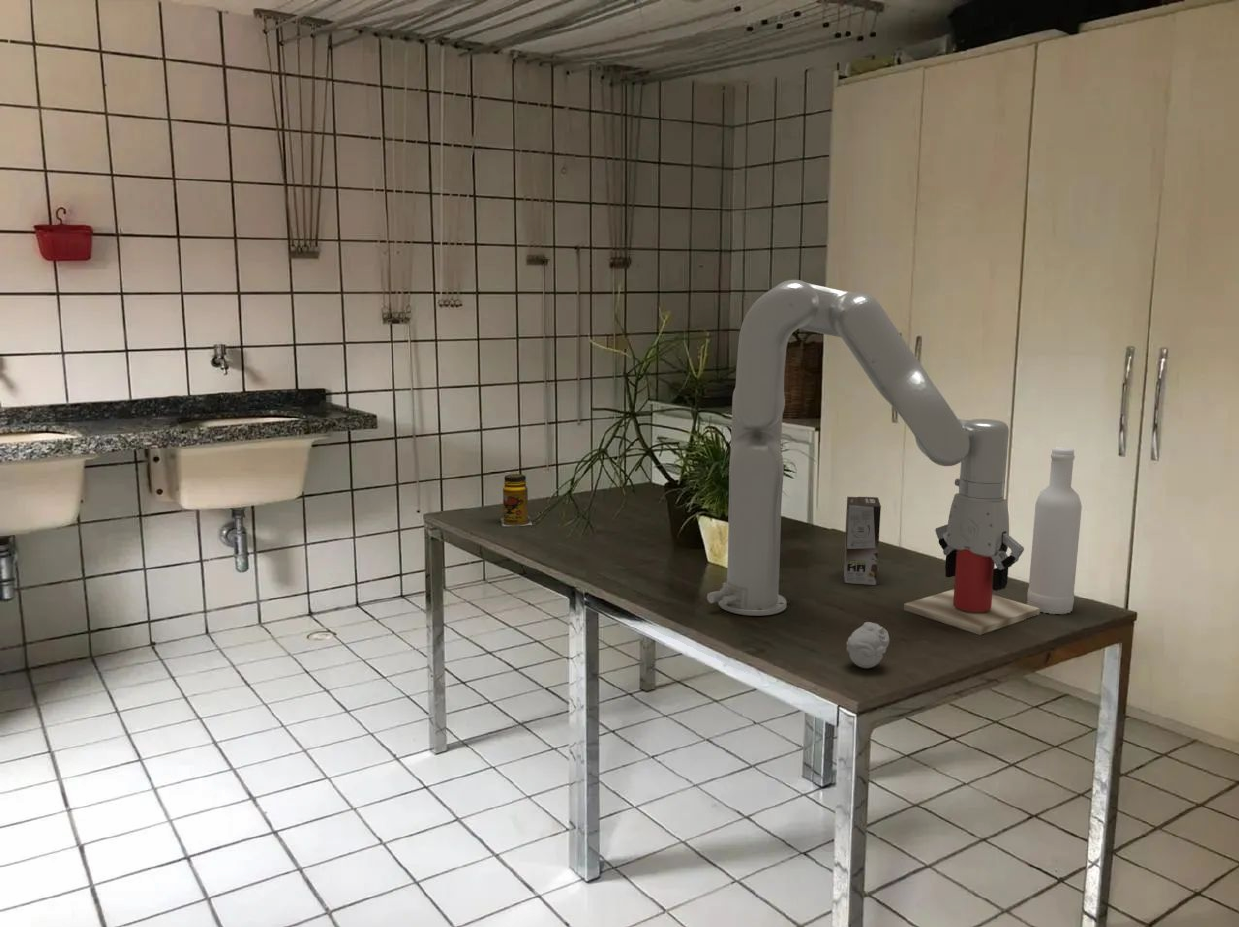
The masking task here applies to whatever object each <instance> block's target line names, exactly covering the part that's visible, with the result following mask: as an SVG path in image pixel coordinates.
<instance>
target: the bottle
mask: <svg viewBox="0 0 1239 927" xmlns="http://www.w3.org/2000/svg"><path fill="white" fill-rule="evenodd" d="M1051 452H1052V453H1050V458H1051V461H1050V462H1051V463H1050V474H1049V485H1047V486H1046V487H1045V488H1043V490H1042V491H1040V492H1039V495H1038V497H1037V499H1036V502H1035V504H1034V505H1035V506H1034V517H1033V530H1032V544H1031V554H1030V555H1031V556H1030V567H1029V579H1028V580H1029V581H1028V589H1027V594H1026V595H1027V598H1026V599H1027V603H1026V604H1027V605H1030V606H1034V607H1037V608H1040V613H1041V612H1043V613H1042V614H1046V613H1049V614H1048V615H1055V614H1060V615H1067V613H1068V614H1070V613H1071V611H1072V612H1073V607H1074V603H1075V602H1074V601H1075V584H1076V574H1077V573H1076V572H1077V563H1078V554H1079V553H1078V551H1079V540H1080V530H1081V521H1082V509H1083V507H1082V503H1081V502H1082V501H1081V498H1080V496H1079V494H1078V493H1077V491H1075V490H1074V488H1073V487H1072V478H1073V470H1074V468H1073V467H1074V460H1075V457H1076V456H1075V449H1074V448H1073V447H1067V446H1055V447H1053V448H1052V451H1051Z"/></svg>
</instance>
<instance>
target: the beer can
mask: <svg viewBox="0 0 1239 927" xmlns="http://www.w3.org/2000/svg"><path fill="white" fill-rule="evenodd" d="M964 547H965V548H968V549H963V550H958V552H957V556H956V570H955V576H954V587H953V589H954V598H953V605H954V606H955V607H956V608H957V609H959V610H961V611H964V612H969V613H984V612H987V611H989V610H990V609H991V605H992V595H993V591H994V590H993V589H992V584H993V571H994V569H995V568H996V567H995V566H996V564H995V563H994V561H993V559H992V558H991V557H983V556H979V555H976V554H974V553H972V552H971V551H970V550H969V549H970V547H966V546H964Z"/></svg>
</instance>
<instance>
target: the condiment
mask: <svg viewBox="0 0 1239 927" xmlns="http://www.w3.org/2000/svg"><path fill="white" fill-rule="evenodd" d="M526 478H527V477H526V475H525V474H521V473H514V474H513V473H511V474H507V475H504V478H503V479H504V483H503V484H504V486H503V487H502V492H503V493H502V494H503V495H502V496H503V498H502V499H503V500H502V502H503V503H502V506H503V507H502V508H503V517H502V518H501V517H500V521H501V526H502V527H520V526H521V527H523V526H532V525H533V523H532V521H531V516H529V501H528V499H529V498H528V497H529V493H528V492H529V490H528V486H527V482H526V481H527V480H526Z"/></svg>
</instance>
